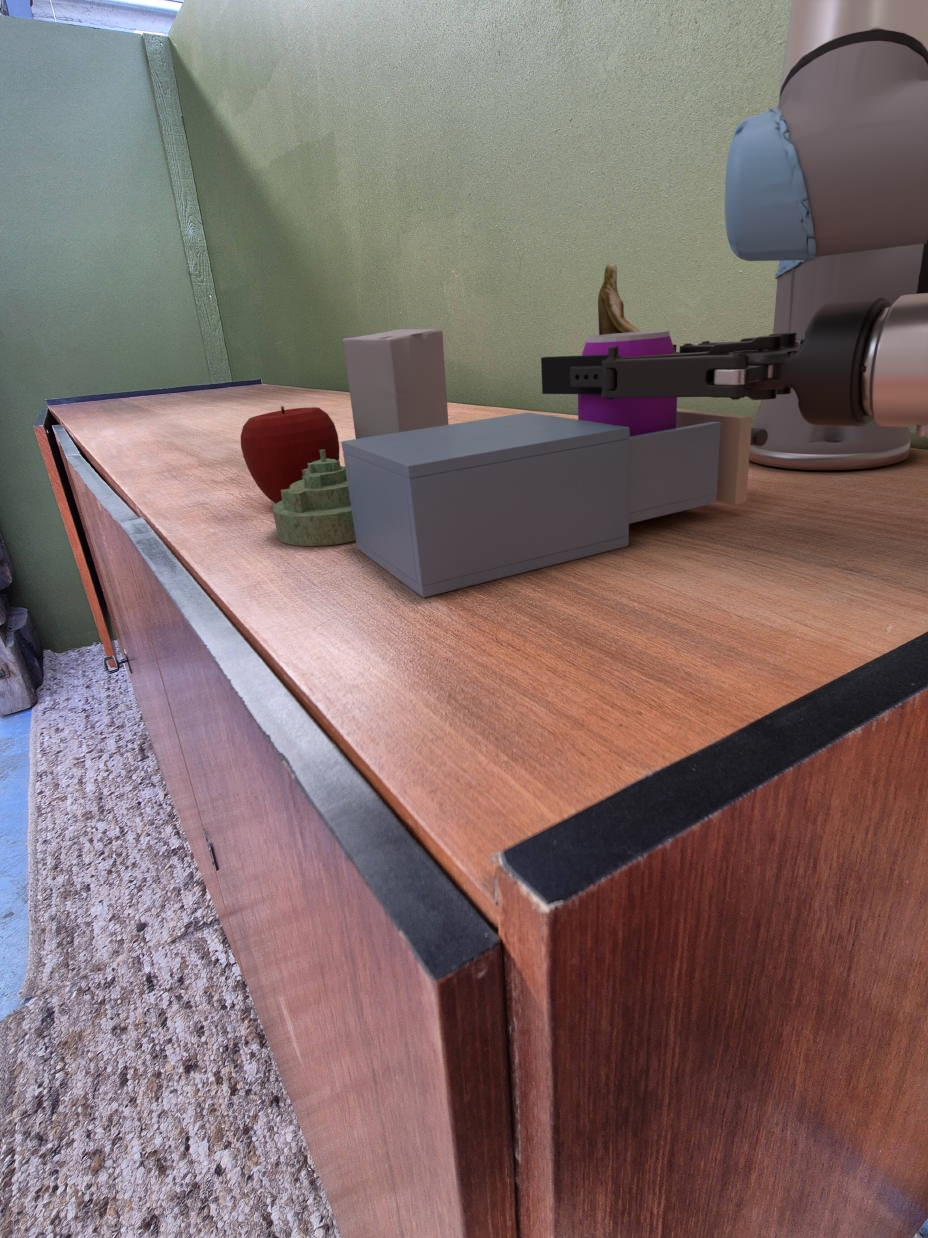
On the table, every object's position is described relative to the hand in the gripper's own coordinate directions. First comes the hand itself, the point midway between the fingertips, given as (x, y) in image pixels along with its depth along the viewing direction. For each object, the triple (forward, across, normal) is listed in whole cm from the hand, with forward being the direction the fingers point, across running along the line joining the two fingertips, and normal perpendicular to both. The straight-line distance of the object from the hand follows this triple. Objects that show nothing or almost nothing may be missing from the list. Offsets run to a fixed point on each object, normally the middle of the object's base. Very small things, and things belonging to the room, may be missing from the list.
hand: (576, 369), depth 59 cm
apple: (+27, -11, -12) cm, 32 cm away
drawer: (-5, +2, -11) cm, 12 cm away
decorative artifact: (+16, -15, -12) cm, 25 cm away
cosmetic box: (+20, -2, -12) cm, 24 cm away
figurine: (+5, +14, -12) cm, 19 cm away
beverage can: (-5, 0, -10) cm, 11 cm away
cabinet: (0, -12, -12) cm, 17 cm away
